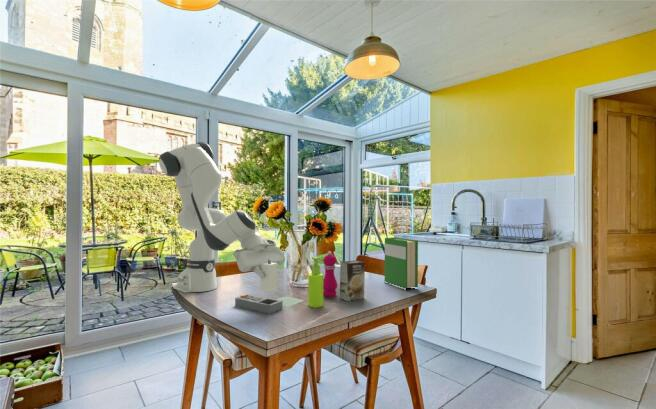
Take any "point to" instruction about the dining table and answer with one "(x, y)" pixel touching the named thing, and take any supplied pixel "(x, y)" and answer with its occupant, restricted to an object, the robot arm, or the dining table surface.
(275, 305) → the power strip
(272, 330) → the dining table surface
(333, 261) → the pepper mill
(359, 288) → the coffee box
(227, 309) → the dining table surface
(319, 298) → the soap dispenser
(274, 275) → the white pillar candle
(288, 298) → the rubber mat
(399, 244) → the hardback book
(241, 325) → the dining table surface
